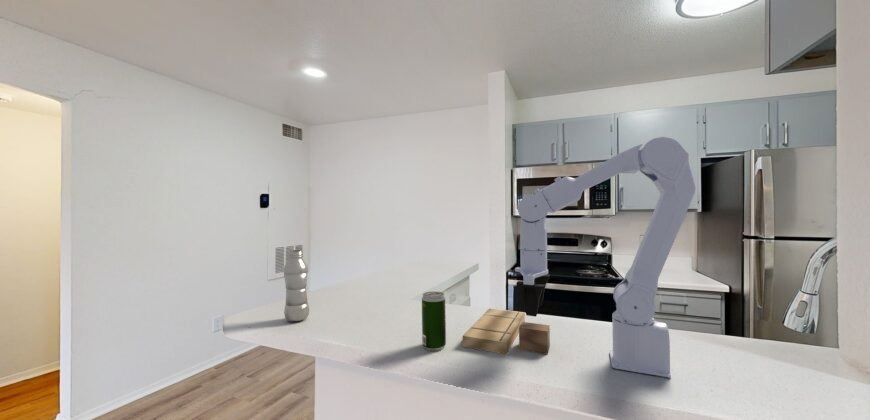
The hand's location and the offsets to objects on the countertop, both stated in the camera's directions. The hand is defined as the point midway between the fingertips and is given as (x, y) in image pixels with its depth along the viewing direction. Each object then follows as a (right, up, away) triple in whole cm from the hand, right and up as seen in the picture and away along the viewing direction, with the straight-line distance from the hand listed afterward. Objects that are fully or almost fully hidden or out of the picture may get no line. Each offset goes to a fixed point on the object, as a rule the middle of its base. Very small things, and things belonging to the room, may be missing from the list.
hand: (534, 310), depth 74 cm
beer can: (-22, -9, +2) cm, 24 cm away
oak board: (-7, -9, +9) cm, 14 cm away
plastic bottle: (-62, -10, +21) cm, 66 cm away
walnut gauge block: (0, -9, 0) cm, 9 cm away
